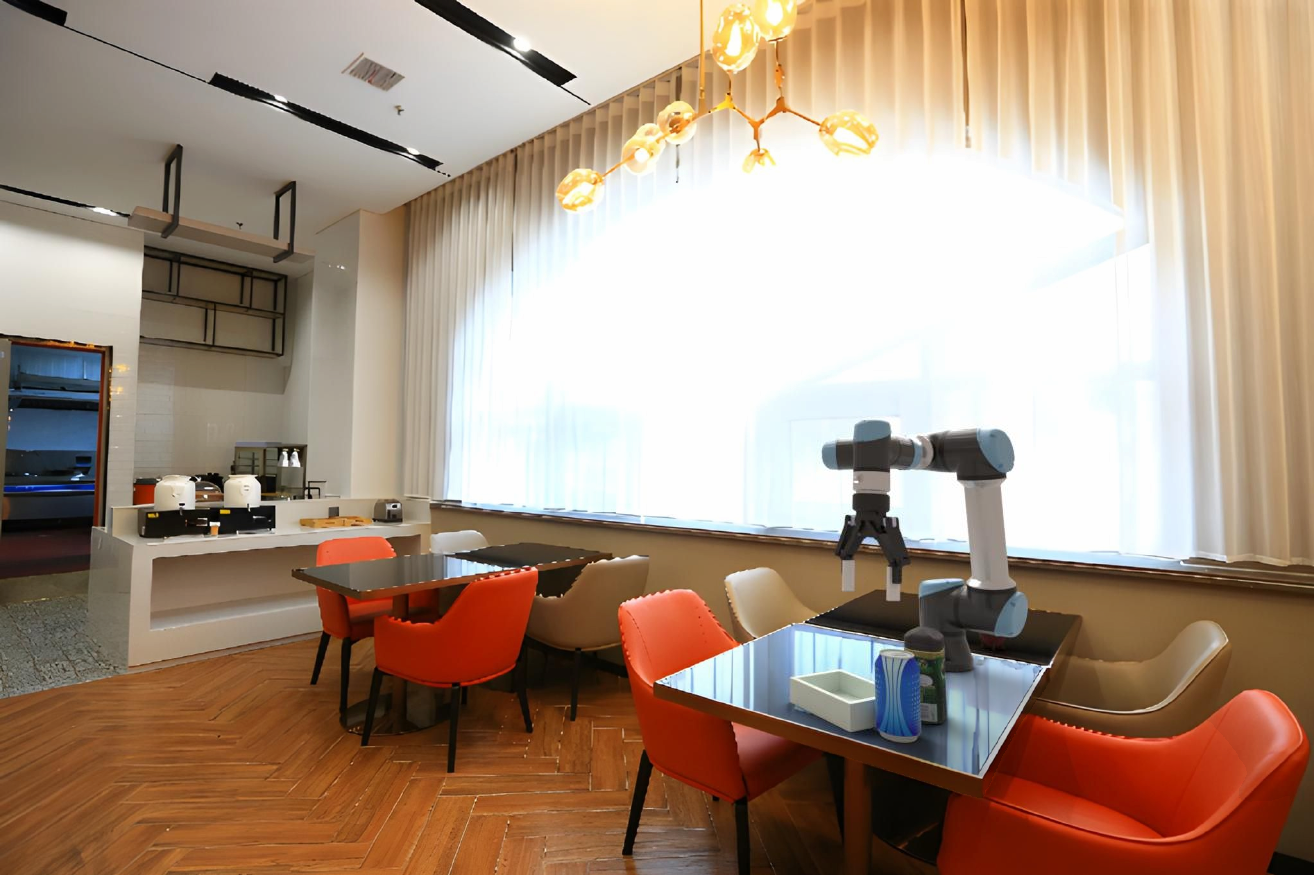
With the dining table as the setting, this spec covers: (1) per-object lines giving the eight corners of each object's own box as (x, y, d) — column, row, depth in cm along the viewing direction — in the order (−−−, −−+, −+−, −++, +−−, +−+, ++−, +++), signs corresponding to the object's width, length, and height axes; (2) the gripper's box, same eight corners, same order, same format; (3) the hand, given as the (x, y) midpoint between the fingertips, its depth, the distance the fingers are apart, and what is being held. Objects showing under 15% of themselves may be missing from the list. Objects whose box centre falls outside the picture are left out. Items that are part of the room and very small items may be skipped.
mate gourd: (978, 644, 196) (976, 595, 197) (1006, 646, 193) (1005, 597, 194) (981, 650, 189) (980, 599, 190) (1011, 652, 186) (1009, 601, 187)
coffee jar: (910, 707, 141) (908, 622, 142) (949, 714, 137) (946, 626, 138) (902, 721, 133) (900, 631, 134) (943, 728, 128) (940, 636, 130)
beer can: (917, 748, 119) (914, 661, 120) (871, 738, 124) (869, 654, 125) (924, 733, 126) (922, 651, 127) (881, 724, 131) (879, 645, 132)
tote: (840, 692, 150) (840, 669, 151) (904, 720, 133) (904, 693, 133) (789, 702, 144) (789, 677, 144) (850, 732, 126) (849, 704, 127)
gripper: (820, 492, 143) (817, 587, 141) (900, 491, 120) (899, 605, 118) (847, 494, 146) (845, 587, 144) (930, 493, 123) (929, 605, 121)
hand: (869, 595), depth 131 cm, fingers open, 13 cm apart
